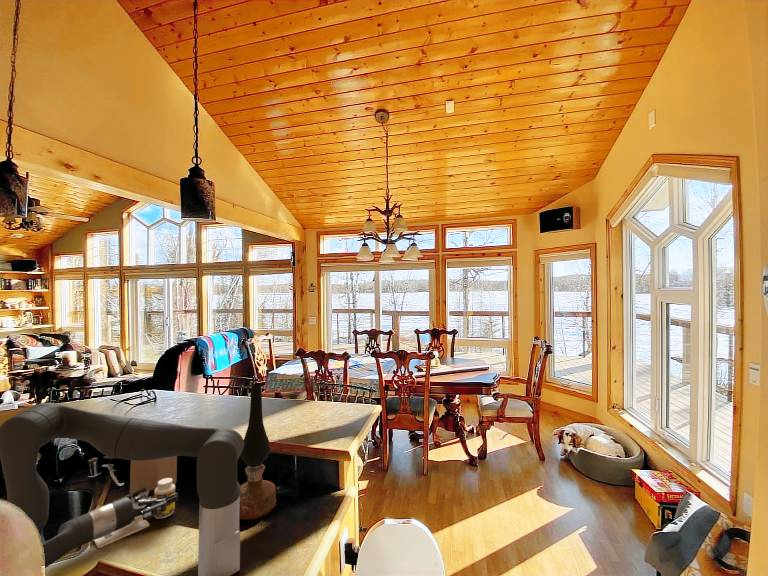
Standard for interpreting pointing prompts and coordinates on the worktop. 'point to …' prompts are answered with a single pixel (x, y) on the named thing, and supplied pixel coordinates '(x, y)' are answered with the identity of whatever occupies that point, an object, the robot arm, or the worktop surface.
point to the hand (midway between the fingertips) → (171, 491)
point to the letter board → (122, 532)
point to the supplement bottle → (163, 491)
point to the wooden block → (152, 473)
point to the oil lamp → (256, 464)
